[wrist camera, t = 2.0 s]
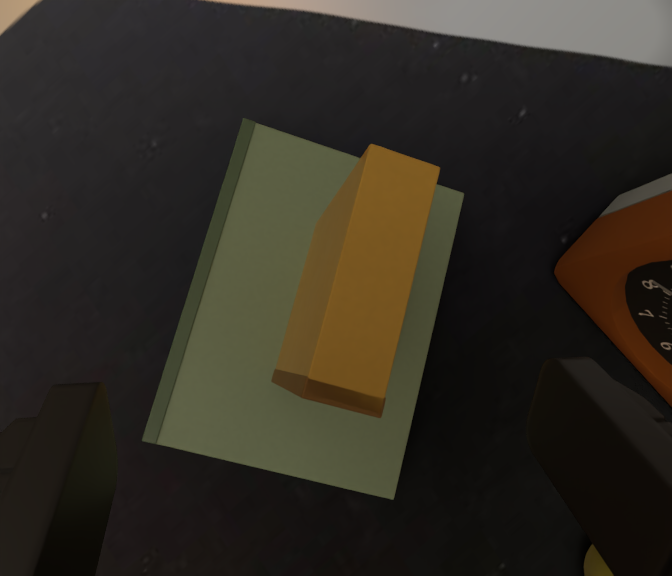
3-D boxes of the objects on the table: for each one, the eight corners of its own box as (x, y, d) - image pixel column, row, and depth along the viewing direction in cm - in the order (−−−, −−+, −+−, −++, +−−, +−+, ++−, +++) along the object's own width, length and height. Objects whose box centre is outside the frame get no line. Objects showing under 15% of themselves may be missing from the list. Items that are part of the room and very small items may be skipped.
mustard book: (270, 381, 32) (300, 397, 19) (315, 222, 34) (369, 142, 21) (320, 395, 33) (381, 418, 20) (362, 237, 34) (442, 167, 22)
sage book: (149, 433, 33) (141, 440, 30) (241, 137, 37) (243, 117, 34) (380, 488, 36) (394, 500, 33) (446, 205, 39) (465, 192, 36)
